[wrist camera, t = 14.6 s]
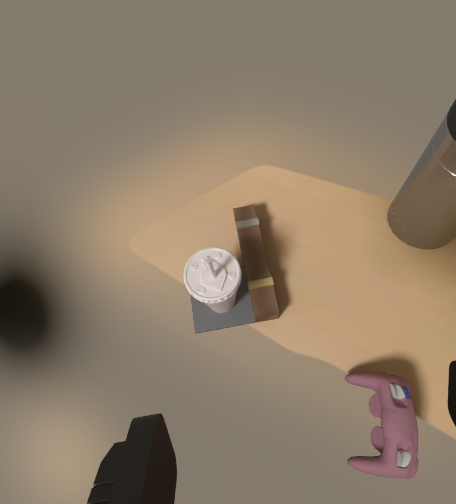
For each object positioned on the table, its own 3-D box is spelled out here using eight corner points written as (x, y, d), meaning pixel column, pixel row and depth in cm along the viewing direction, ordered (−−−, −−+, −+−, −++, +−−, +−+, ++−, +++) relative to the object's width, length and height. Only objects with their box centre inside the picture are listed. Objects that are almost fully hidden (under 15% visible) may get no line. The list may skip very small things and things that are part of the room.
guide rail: (254, 215, 50) (254, 203, 47) (279, 318, 43) (280, 310, 40) (234, 219, 50) (232, 207, 47) (254, 322, 43) (254, 315, 40)
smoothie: (209, 331, 43) (188, 298, 30) (190, 289, 46) (163, 243, 33) (253, 309, 44) (250, 268, 31) (232, 269, 46) (221, 217, 34)
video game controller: (377, 471, 36) (434, 487, 30) (343, 468, 35) (395, 485, 29) (371, 376, 41) (420, 374, 35) (340, 371, 39) (385, 367, 33)
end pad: (244, 267, 47) (244, 266, 46) (255, 322, 43) (255, 321, 43) (188, 277, 47) (188, 276, 47) (195, 333, 43) (195, 333, 43)
